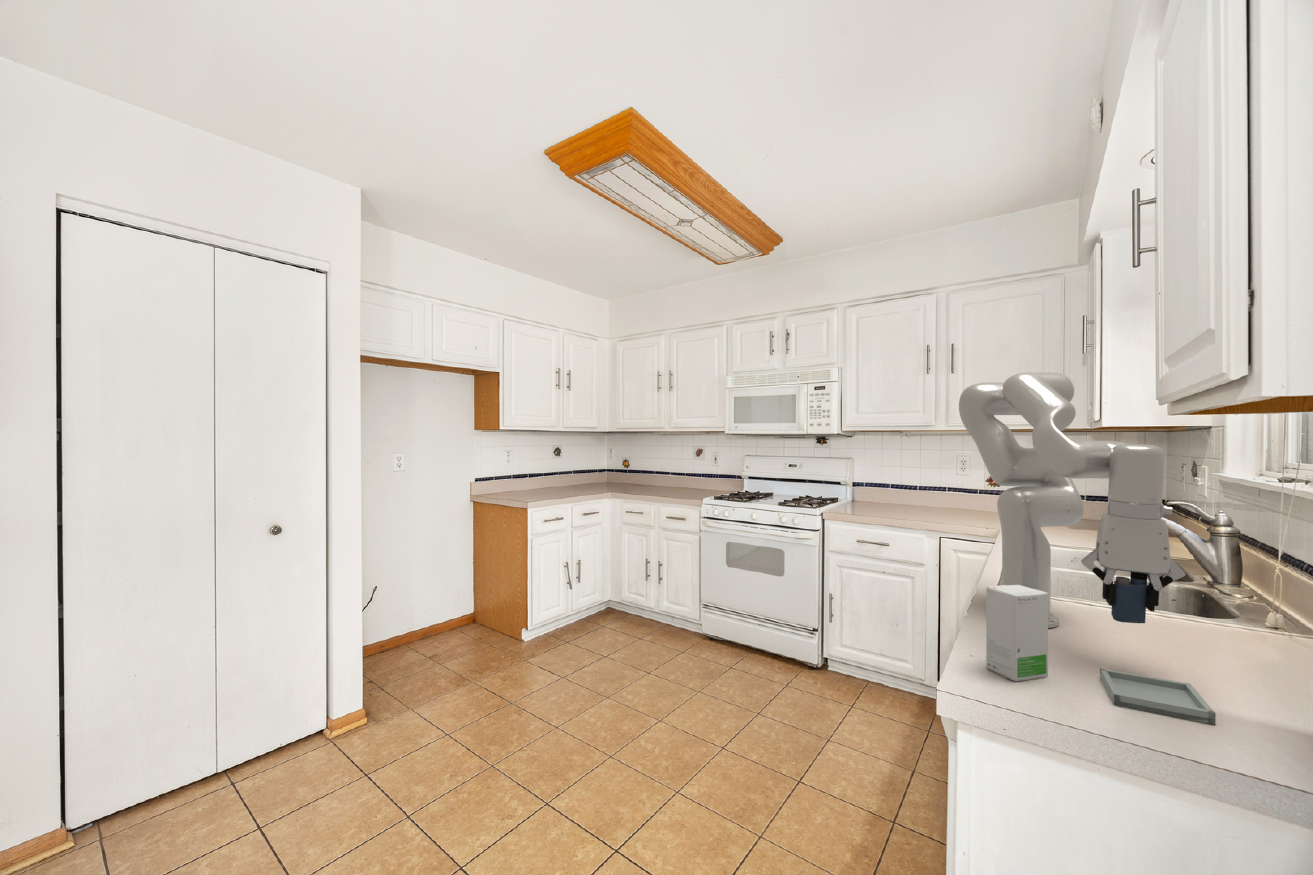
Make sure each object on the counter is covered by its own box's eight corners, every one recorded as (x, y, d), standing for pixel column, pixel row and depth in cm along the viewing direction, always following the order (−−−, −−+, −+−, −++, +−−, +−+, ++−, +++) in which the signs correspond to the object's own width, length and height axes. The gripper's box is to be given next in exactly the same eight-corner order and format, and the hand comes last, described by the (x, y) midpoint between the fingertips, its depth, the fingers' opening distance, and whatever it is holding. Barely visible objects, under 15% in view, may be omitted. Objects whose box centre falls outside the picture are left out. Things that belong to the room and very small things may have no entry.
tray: (1100, 677, 97) (1100, 668, 97) (1190, 694, 91) (1190, 683, 91) (1113, 704, 88) (1114, 694, 88) (1215, 724, 82) (1215, 713, 82)
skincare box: (1014, 682, 96) (1014, 596, 96) (982, 667, 102) (983, 585, 102) (1050, 676, 98) (1050, 592, 98) (1017, 661, 104) (1017, 582, 104)
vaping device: (1149, 624, 99) (1152, 560, 99) (1116, 622, 100) (1119, 559, 100) (1139, 619, 102) (1142, 556, 101) (1108, 617, 103) (1110, 555, 102)
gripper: (1189, 511, 99) (1184, 608, 100) (1073, 503, 107) (1069, 592, 108) (1204, 518, 92) (1198, 622, 93) (1079, 509, 101) (1075, 604, 102)
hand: (1129, 605), depth 101 cm, fingers closed on vaping device, 5 cm apart
